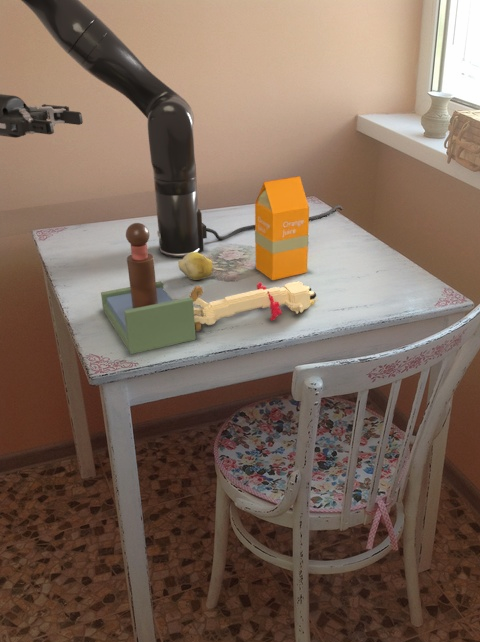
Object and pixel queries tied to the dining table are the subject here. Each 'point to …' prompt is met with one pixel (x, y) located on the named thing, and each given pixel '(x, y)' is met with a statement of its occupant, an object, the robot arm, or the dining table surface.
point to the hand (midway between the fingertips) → (67, 123)
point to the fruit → (196, 266)
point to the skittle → (141, 267)
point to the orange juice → (281, 228)
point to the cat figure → (253, 302)
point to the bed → (149, 319)
